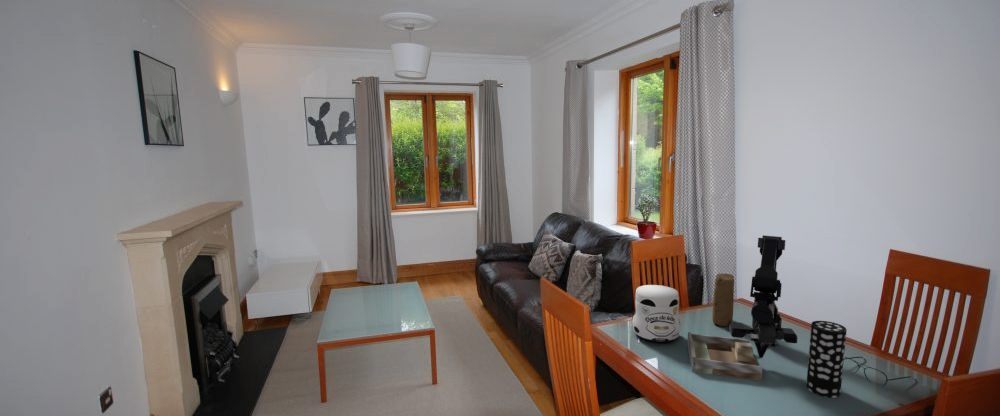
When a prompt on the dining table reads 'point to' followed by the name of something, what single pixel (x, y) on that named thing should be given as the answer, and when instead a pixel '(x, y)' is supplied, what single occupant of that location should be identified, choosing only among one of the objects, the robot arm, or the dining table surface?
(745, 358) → the beech block
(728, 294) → the block
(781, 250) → the robot arm
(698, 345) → the shallow wooden tray
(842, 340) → the spotted tube
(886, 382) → the glasses
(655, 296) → the milk container
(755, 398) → the dining table surface
